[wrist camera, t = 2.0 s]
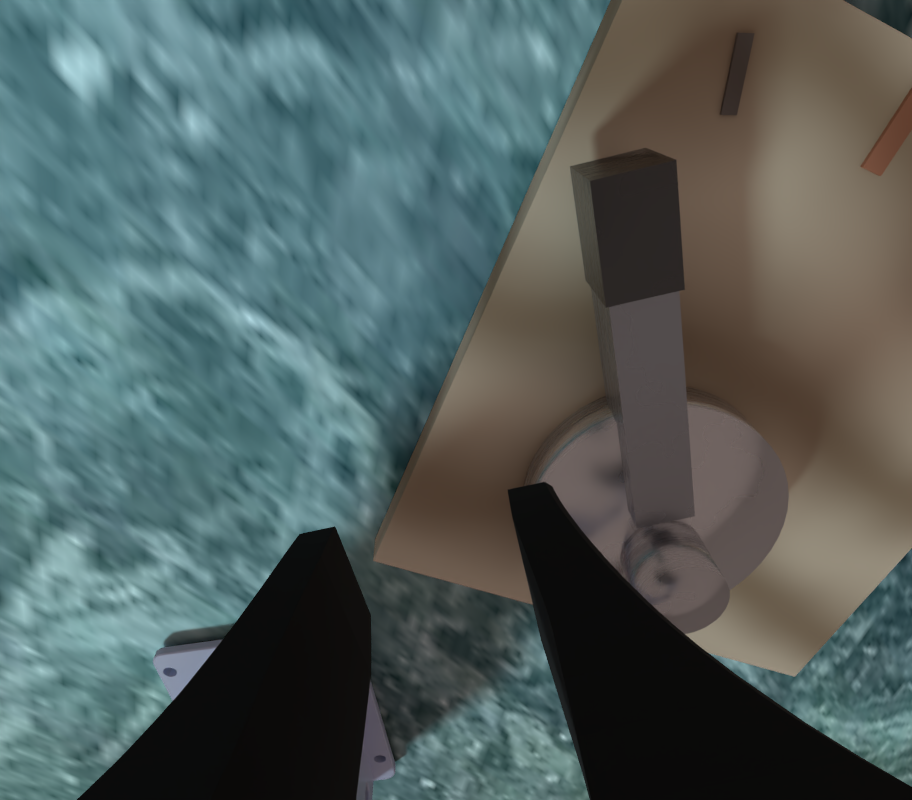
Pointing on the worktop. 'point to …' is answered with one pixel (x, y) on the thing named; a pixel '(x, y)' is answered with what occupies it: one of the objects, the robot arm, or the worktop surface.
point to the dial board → (711, 303)
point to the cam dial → (656, 414)
